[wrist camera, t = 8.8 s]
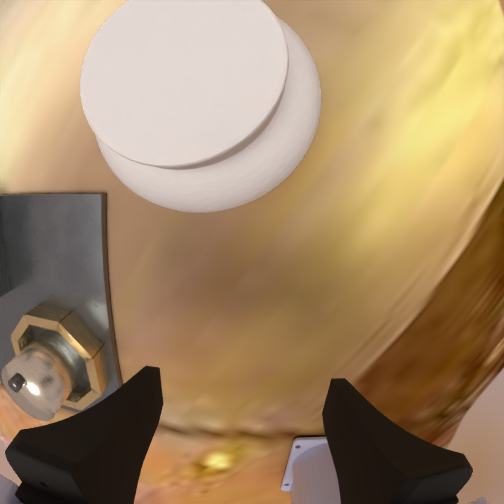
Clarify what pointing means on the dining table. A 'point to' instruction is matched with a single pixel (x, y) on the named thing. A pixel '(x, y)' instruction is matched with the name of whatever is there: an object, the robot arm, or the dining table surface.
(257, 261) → the dining table surface
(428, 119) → the dining table surface
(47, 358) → the spout can
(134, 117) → the pill bottle
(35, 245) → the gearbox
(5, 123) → the dining table surface
